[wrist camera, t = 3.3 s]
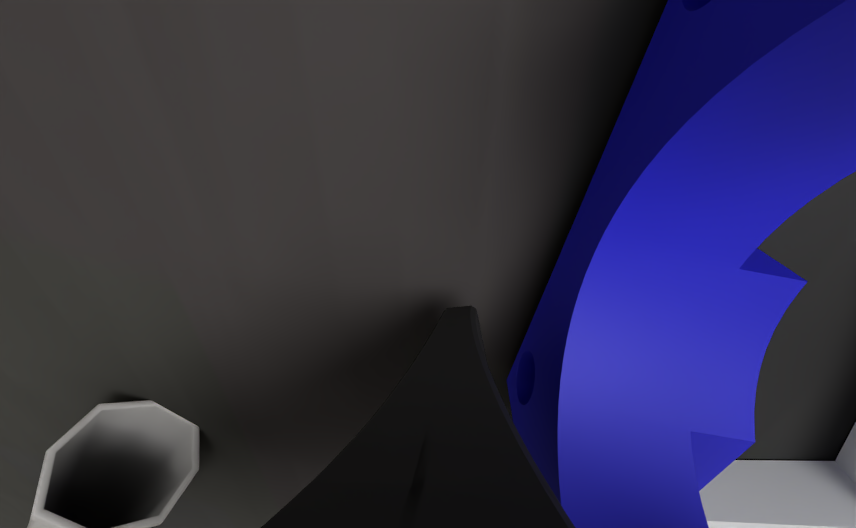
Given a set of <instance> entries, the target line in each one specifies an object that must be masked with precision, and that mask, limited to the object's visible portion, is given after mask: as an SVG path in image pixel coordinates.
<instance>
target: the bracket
mask: <svg viewBox="0 0 856 528" xmlns="http://www.w3.org/2000/svg"><path fill="white" fill-rule="evenodd" d="M699 493H700V498H701V502H702V506H703V509H704V513H705V516H706V520H707V523H708V527H709V528H856V422H855V424H854V426H853V428H852V430H851V432H850V434H849V435H848V437H847V439H846V441H845V443H844V445H843V447H842V449H841V450H840V452H839V454H838V456H837V458H836V460H835V461H784V460H734V461H733V462H732V463H731V464H730V465H729V466H727V467H726V468H725V469H724V470H723V471H722V472H721V473H720V474H718V475H717V476H716V477H715V478H714V479H713V480H712V481H710V482H709V483H708V484H707V485H706V486H705V487H704V488H702V489H701V490H700V491H699Z"/></svg>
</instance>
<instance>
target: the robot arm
mask: <svg viewBox="0 0 856 528" xmlns="http://www.w3.org/2000/svg"><path fill="white" fill-rule="evenodd" d="M261 528H576V527H575V526H574V524H573V523H572V521H571V520H570V518H569V517H568V515H567V514H566V512H565V511H564V509H563V507H562V506H561V504H560V502H559V501H558V499H557V497H556V496H555V494H554V493H553V491H552V489H551V488H550V486H549V484H548V483H547V481H546V479H545V478H544V476H543V475H542V473H541V471H540V470H539V468H538V466H537V465H536V463H535V461H534V460H533V458H532V456H531V454H530V452H529V451H528V449H527V447H526V445H525V443H524V442H523V440H522V438H521V436H520V434H519V432H518V430H517V428H516V427H515V425H514V423H513V421H512V419H511V417H510V415H509V413H508V411H507V409H506V407H505V405H504V402H503V400H502V398H501V396H500V394H499V391H498V389H497V387H496V385H495V382H494V380H493V377H492V375H491V372H490V370H489V367H488V364H487V359H486V354H485V349H484V344H483V340H482V335H481V330H480V325H479V320H478V315H477V310H476V309H475V308H474V307H472V306H464V307H454V308H447V309H446V310H445V311H444V313H443V314H442V316H441V318H440V320H439V321H438V323H437V325H436V327H435V328H434V330H433V332H432V334H431V335H430V337H429V338H428V340H427V342H426V343H425V345H424V347H423V348H422V350H421V351H420V353H419V354H418V356H417V357H416V359H415V360H414V362H413V364H412V365H411V367H410V368H409V370H408V371H407V372H406V374H405V375H404V377H403V378H402V379H401V381H400V382H399V383H398V385H397V386H396V388H395V389H394V390H393V392H392V393H391V394H390V396H389V397H388V398H387V400H386V401H385V402H384V403H383V405H382V406H381V407H380V409H379V410H378V411H377V412H376V413H375V415H374V416H373V417H372V418H371V419H370V421H369V422H368V423H367V424H366V425H365V426H364V428H363V429H362V430H361V431H360V432H359V433H358V434H357V436H356V437H355V438H354V439H353V440H352V441H351V442H350V443H349V444H348V445H347V446H346V447H345V448H344V449H343V451H342V452H341V453H340V454H339V455H338V456H337V457H336V458H335V459H334V460H333V461H332V462H331V463H330V464H329V465H328V466H327V467H326V468H325V469H324V470H323V471H322V472H321V473H320V474H319V475H318V476H317V477H316V478H315V479H314V480H313V481H312V482H311V483H310V484H309V485H308V486H306V487H305V488H304V489H303V490H302V491H301V492H300V493H299V494H298V495H297V496H296V497H294V498H293V499H292V500H291V501H290V502H289V503H288V504H287V505H286V506H285V507H284V508H282V509H281V510H280V511H279V512H278V513H277V514H276V515H275V516H274V517H272V518H271V519H270V520H269V521H268V522H267V523H266V524H264V525H263V526H262V527H261Z"/></svg>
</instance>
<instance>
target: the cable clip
mask: <svg viewBox="0 0 856 528" xmlns="http://www.w3.org/2000/svg"><path fill="white" fill-rule="evenodd" d="M855 171H856V0H668V2H667V4H666V6H665V9H664V11H663V13H662V16H661V18H660V20H659V23H658V25H657V27H656V30H655V32H654V35H653V37H652V39H651V42H650V44H649V46H648V49H647V51H646V53H645V56H644V58H643V60H642V63H641V65H640V67H639V70H638V72H637V74H636V77H635V79H634V82H633V84H632V86H631V89H630V91H629V93H628V96H627V98H626V100H625V103H624V105H623V107H622V110H621V112H620V114H619V117H618V119H617V122H616V124H615V126H614V129H613V131H612V133H611V136H610V138H609V140H608V143H607V145H606V147H605V150H604V152H603V154H602V157H601V159H600V161H599V164H598V166H597V169H596V171H595V173H594V176H593V178H592V180H591V183H590V185H589V187H588V190H587V192H586V194H585V197H584V199H583V201H582V204H581V206H580V209H579V211H578V213H577V216H576V218H575V220H574V223H573V225H572V227H571V230H570V232H569V234H568V237H567V239H566V241H565V244H564V246H563V248H562V251H561V253H560V256H559V258H558V260H557V263H556V265H555V267H554V270H553V272H552V274H551V277H550V279H549V281H548V284H547V286H546V288H545V291H544V293H543V296H542V298H541V300H540V303H539V305H538V307H537V310H536V312H535V314H534V317H533V319H532V321H531V324H530V326H529V328H528V331H527V333H526V335H525V338H524V340H523V343H522V345H521V347H520V350H519V352H518V354H517V357H516V359H515V361H514V364H513V366H512V368H511V371H510V373H509V375H508V378H507V385H508V392H509V398H510V404H511V411H512V417H513V423H514V425H515V427H516V428H517V430H518V432H519V434H520V436H521V438H522V440H523V442H524V443H525V445H526V447H527V449H528V451H529V452H530V454H531V456H532V458H533V460H534V461H535V463H536V465H537V466H538V468H539V470H540V471H541V473H542V475H543V476H544V478H545V479H546V481H547V483H548V484H549V486H550V488H551V489H552V491H553V493H554V494H555V496H556V497H557V499H558V501H559V502H560V504H561V506H562V507H563V509H564V511H565V512H566V514H567V515H568V517H569V518H570V520H571V521H572V523H573V524H574V526H575V527H576V528H709V527H708V523H707V520H706V516H705V513H704V509H703V506H702V502H701V498H700V493H699V491H700V490H701V489H702V488H704V487H705V486H706V485H707V484H708V483H709V482H710V481H712V480H713V479H714V478H715V477H716V476H717V475H718V474H720V473H721V472H722V471H723V470H724V469H725V468H726V467H727V466H729V465H730V464H731V463H732V462H733V461H734V460H735V459H737V458H738V457H739V456H740V455H741V454H742V453H743V452H745V451H746V450H747V449H748V448H749V447H750V446H751V445H752V444H754V443H755V426H754V409H755V396H756V387H757V382H758V377H759V371H760V368H761V364H762V361H763V358H764V354H765V351H766V348H767V346H768V344H769V341H770V339H771V337H772V334H773V332H774V330H775V328H776V326H777V325H778V323H779V321H780V319H781V318H782V316H783V314H784V312H785V311H786V309H787V308H788V306H789V305H790V304H791V302H792V301H793V300H794V298H795V297H796V295H797V294H798V293H799V291H800V290H801V289H802V288H803V287H804V285H805V284H806V283H807V282H808V281H806V280H805V279H803V278H801V277H800V276H798V275H797V274H795V273H794V272H792V271H791V270H789V269H788V268H786V267H785V266H783V265H782V264H780V263H779V262H777V261H776V260H774V259H773V258H771V257H770V256H768V255H767V254H765V253H764V252H762V251H761V250H759V249H757V247H758V246H759V245H760V244H761V243H762V242H763V241H764V240H765V239H766V238H767V237H768V236H769V235H770V234H771V233H772V232H773V231H774V230H775V229H777V228H778V227H779V226H780V225H781V224H782V223H783V222H784V221H785V220H786V219H788V218H789V217H790V216H791V215H793V214H794V213H795V212H796V211H798V210H799V209H800V208H801V207H803V206H804V205H805V204H807V203H808V202H809V201H810V200H812V199H813V198H815V197H816V196H818V195H819V194H821V193H822V192H824V191H825V190H826V189H828V188H829V187H831V186H832V185H834V184H835V183H837V182H838V181H840V180H841V179H843V178H845V177H846V176H848V175H850V174H852V173H853V172H855Z"/></svg>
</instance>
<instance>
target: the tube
mask: <svg viewBox="0 0 856 528" xmlns="http://www.w3.org/2000/svg"><path fill="white" fill-rule="evenodd" d="M199 450H200V428H199V426H197V425H195V424H193V423H191V422H189V421H188V420H186V419H184V418H182V417H180V416H179V415H177V414H175V413H173V412H171V411H170V410H168V409H166V408H164V407H162V406H161V405H159V404H157V403H155V402H153V401H151V400H143V401H129V402H116V403H102V404H98V405H97V406H95V407H94V408H93V409H92V410H91V411H90V412H89V413H88V414H87V415H85V416H84V417H83V418H82V419H81V420H80V421H79V422H78V423H77V424H75V425H74V426H73V427H72V428H71V429H70V430H69V431H68V432H67V433H66V434H64V435H63V436H62V437H61V438H60V439H59V440H58V441H57V442H56V443H54V444H53V445H52V446H51V447H50V448H49V449H48V450H47V451H46V453H45V457H44V462H43V466H42V470H41V475H40V479H39V483H38V488H37V492H36V496H35V501H34V505H33V509H32V514H31V518H30V522H29V525H28V527H27V528H150V527H154V526H157V525H160V524H161V523H162V522H163V521H164V520H165V518H166V517H167V515H168V514H169V512H170V511H171V509H172V508H173V507H174V505H175V504H176V502H177V501H178V499H179V498H180V496H181V495H182V494H183V492H184V491H185V489H186V488H187V486H188V485H189V484H190V482H191V481H192V479H193V478H194V476H195V475H196V473H197V472H198V471H199Z"/></svg>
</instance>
